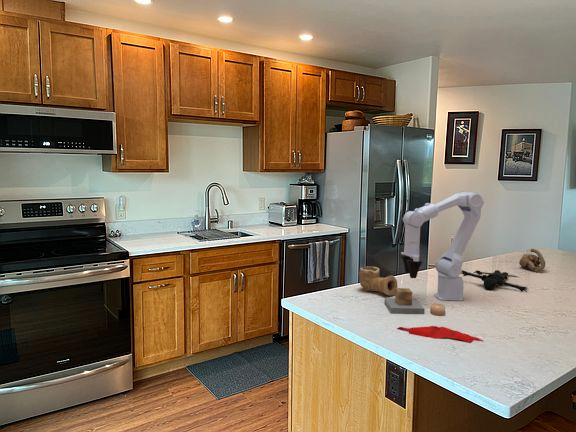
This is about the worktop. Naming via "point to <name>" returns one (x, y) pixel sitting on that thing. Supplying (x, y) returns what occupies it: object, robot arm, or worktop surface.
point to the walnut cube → (403, 296)
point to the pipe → (377, 281)
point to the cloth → (440, 333)
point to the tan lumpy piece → (533, 261)
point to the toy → (494, 279)
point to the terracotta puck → (437, 309)
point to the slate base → (404, 307)
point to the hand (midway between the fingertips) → (410, 275)
